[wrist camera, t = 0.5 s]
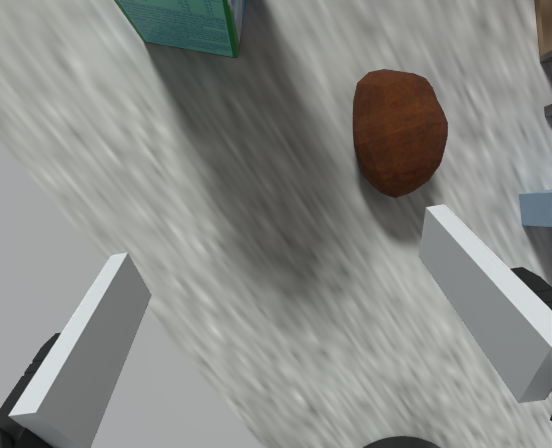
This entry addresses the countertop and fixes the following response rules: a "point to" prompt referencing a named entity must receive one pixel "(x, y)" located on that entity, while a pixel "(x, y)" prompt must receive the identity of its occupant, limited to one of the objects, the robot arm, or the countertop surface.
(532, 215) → the block
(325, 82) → the countertop surface
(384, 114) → the potato
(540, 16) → the cabinet
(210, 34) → the milk carton
